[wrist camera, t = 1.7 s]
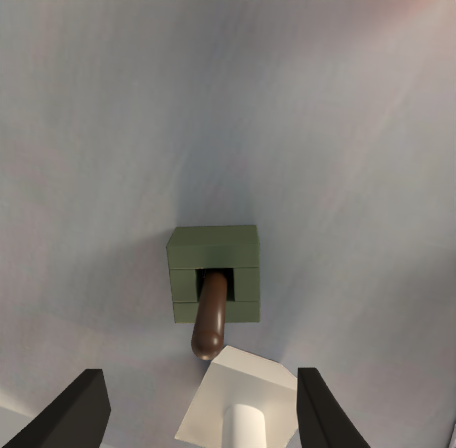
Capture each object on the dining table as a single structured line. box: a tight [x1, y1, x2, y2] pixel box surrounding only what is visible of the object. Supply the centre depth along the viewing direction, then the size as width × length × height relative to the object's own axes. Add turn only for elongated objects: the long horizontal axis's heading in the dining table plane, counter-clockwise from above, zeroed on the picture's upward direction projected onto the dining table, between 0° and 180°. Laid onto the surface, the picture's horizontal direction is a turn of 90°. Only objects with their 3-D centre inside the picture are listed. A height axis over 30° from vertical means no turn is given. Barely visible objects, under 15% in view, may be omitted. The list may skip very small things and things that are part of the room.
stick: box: [191, 268, 228, 360], centre depth 17 cm, size 1×1×8 cm
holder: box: [166, 225, 260, 323], centre depth 20 cm, size 5×5×3 cm
